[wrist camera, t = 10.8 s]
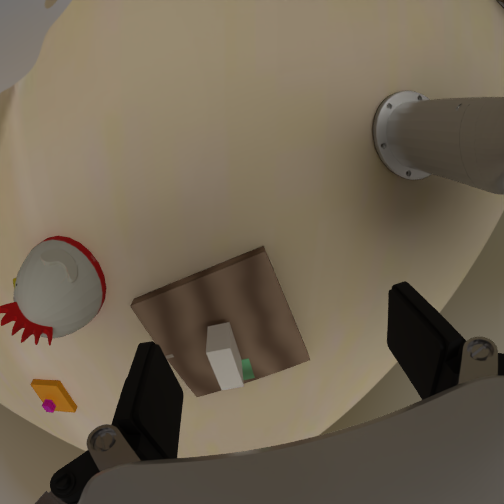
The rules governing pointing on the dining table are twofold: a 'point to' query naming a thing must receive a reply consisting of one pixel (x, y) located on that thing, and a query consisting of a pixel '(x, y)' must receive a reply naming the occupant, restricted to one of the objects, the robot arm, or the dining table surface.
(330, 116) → the dining table surface
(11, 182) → the dining table surface
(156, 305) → the dial board
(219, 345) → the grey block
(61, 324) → the chicken figurine
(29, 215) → the dining table surface
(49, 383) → the orange block with cube
